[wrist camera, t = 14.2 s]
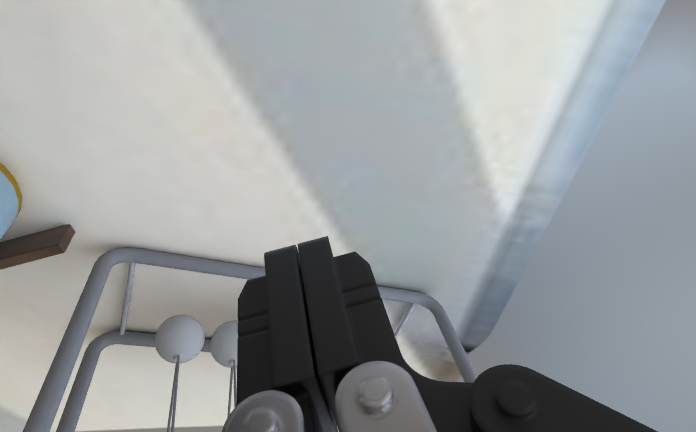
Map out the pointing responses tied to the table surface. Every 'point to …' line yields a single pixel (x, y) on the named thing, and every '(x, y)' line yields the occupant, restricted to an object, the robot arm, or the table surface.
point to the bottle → (8, 200)
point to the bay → (35, 246)
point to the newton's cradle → (173, 335)
